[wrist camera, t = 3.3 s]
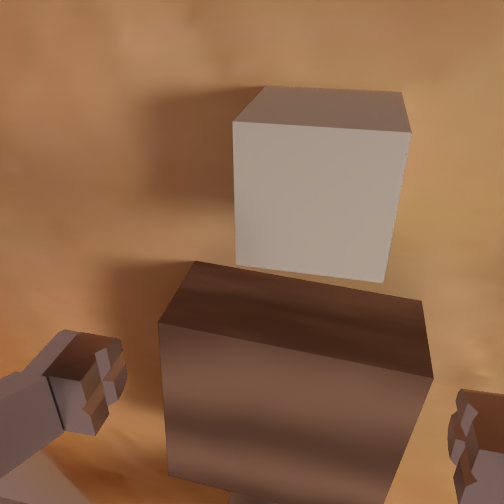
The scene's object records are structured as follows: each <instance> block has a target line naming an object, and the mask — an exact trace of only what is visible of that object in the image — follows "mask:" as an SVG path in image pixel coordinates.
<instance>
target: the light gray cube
mask: <svg viewBox="0 0 504 504" xmlns="http://www.w3.org/2000/svg"><path fill="white" fill-rule="evenodd" d="M232 122H233V165H234V208H235V251H236V265H241V266H249V267H257V268H265V269H273V270H281V271H289V272H297V273H305V274H313V275H321V276H329V277H337V278H345V279H353V280H361V281H369V282H377V283H383V282H384V277H385V271H386V266H387V261H388V256H389V250H390V245H391V240H392V234H393V229H394V224H395V218H396V213H397V208H398V203H399V197H400V192H401V187H402V181H403V176H404V171H405V166H406V160H407V155H408V150H409V144H410V139H411V134H412V132H411V128H410V124H409V120H408V116H407V112H406V108H405V104H404V100H403V96H402V92H386V91H364V90H343V89H322V88H301V87H280V86H265V87H264V88H263V89H262V90H261V91H260V92H259V93H258V95H257V96H256V97H255V98H254V99H253V100H252V101H251V102H250V103H249V104H248V105H247V106H246V107H245V108H244V110H243V111H242V112H241V113H240V114H239V115H238V116H237V117H236V118H235V119H234V120H233V121H232Z"/></svg>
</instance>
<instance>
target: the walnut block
mask: <svg viewBox="0 0 504 504" xmlns="http://www.w3.org/2000/svg"><path fill="white" fill-rule="evenodd" d="M158 331H159V346H160V360H161V374H162V389H163V403H164V418H165V432H166V447H167V461H168V476H172V477H176V478H180V479H184V480H188V481H192V482H195V483H199V484H203V485H207V486H211V487H215V488H219V489H223V490H226V491H230V492H234V493H238V494H242V495H246V496H250V497H254V498H257V499H261V500H265V501H269V502H273V503H277V504H384V501H385V499H386V496H387V494H388V491H389V489H390V486H391V484H392V481H393V479H394V476H395V474H396V471H397V469H398V466H399V464H400V461H401V459H402V456H403V454H404V451H405V449H406V446H407V444H408V441H409V439H410V436H411V434H412V431H413V429H414V426H415V424H416V421H417V419H418V416H419V414H420V411H421V409H422V406H423V404H424V401H425V399H426V396H427V394H428V391H429V389H430V386H431V384H432V381H433V379H434V377H433V371H432V364H431V358H430V352H429V345H428V339H427V332H426V326H425V319H424V313H423V306H422V301H419V300H413V299H407V298H402V297H396V296H391V295H385V294H379V293H374V292H368V291H362V290H357V289H351V288H346V287H340V286H334V285H329V284H323V283H318V282H312V281H306V280H301V279H295V278H289V277H284V276H278V275H273V274H267V273H261V272H256V271H250V270H245V269H239V268H233V267H228V266H222V265H216V264H211V263H205V262H200V261H195V263H194V264H193V266H192V267H191V269H190V271H189V272H188V274H187V276H186V277H185V279H184V281H183V282H182V284H181V285H180V287H179V289H178V290H177V292H176V294H175V295H174V297H173V299H172V300H171V302H170V303H169V305H168V307H167V308H166V310H165V312H164V313H163V315H162V317H161V318H160V320H159V321H158Z"/></svg>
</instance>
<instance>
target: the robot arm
mask: <svg viewBox="0 0 504 504" xmlns="http://www.w3.org/2000/svg"><path fill="white" fill-rule="evenodd" d="M122 351H123V349H122V345H121V341H120V340H119V339H117V338H113V337H107V336H101V335H95V334H90V333H84V332H76V331H70V330H63V331H60V332H59V333H58V334H57V335H56V336H55V337H54V338H53V339H52V340H51V341H50V342H49V343H48V344H47V345H46V346H45V348H44V349H43V350H42V351H41V352H40V353H39V354H38V355H37V356H36V357H35V358H34V359H33V360H32V362H31V363H30V364H29V365H28V366H27V367H26V368H25V369H24V370H23V371H22V372H14V373H12V374H10V375H8V376H6V377H3V378H1V379H0V478H2V477H3V476H5V475H6V474H7V473H9V472H10V471H12V470H13V469H14V468H16V467H17V466H18V465H20V464H21V463H23V462H24V461H25V460H27V459H28V458H29V457H31V456H32V455H33V454H35V453H36V452H38V451H39V450H41V449H42V448H43V447H45V446H46V445H47V444H49V443H50V442H52V441H53V440H54V439H56V438H57V437H59V436H60V435H61V434H63V433H64V431H69V432H75V433H81V434H87V435H93V436H96V434H97V433H98V431H99V430H100V428H101V426H102V425H103V423H104V422H105V420H106V418H107V417H108V415H109V411H108V406H109V405H111V404H112V403H114V402H116V401H117V400H118V399H119V397H120V396H121V394H122V392H123V390H124V387H125V383H126V380H127V369H126V364H125V362H124V361H123V360H122V359H121V358H120V357H119V355H120V354H121V352H122ZM456 405H457V410H458V411H457V412H456V413H454V414H452V415H451V418H450V422H449V427H448V450H449V456H450V459H451V460H452V462H453V463H454V464H455V465H456V466H457V467H456V470H455V474H454V477H453V478H454V484H455V489H456V494H457V500H458V504H504V394H497V393H490V392H483V391H475V390H468V389H461V390H460V391H459V392H458V395H457V398H456ZM0 504H27V503H23V502H18V501H14V500H10V499H6V498H1V497H0Z"/></svg>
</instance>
